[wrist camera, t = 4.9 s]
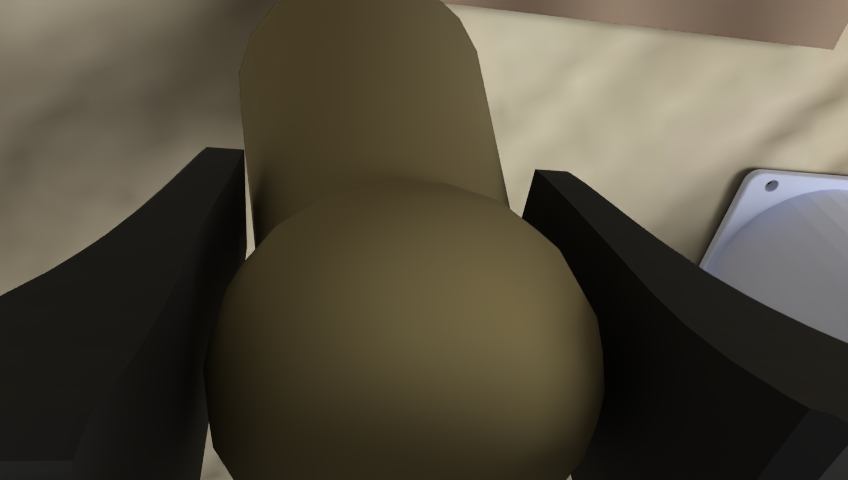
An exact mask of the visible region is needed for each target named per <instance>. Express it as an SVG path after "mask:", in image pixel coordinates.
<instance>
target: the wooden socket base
mask: <svg viewBox="0 0 848 480" xmlns="http://www.w3.org/2000/svg"><path fill="white" fill-rule="evenodd" d="M440 1H441V2H443V3H451V4H460V5H468V6H476V7H484V8H493V9H501V10H509V11H518V12H526V13H534V14H542V15H551V16H559V17H567V18H575V19H584V20H592V21H600V22H608V23H617V24H625V25H633V26H641V27H650V28H658V29H666V30H675V31H683V32H691V33H699V34H708V35H716V36H724V37H732V38H741V39H749V40H757V41H765V42H774V43H782V44H790V45H799V46H807V47H815V48H823V49H832V50H833V49H834V48H835V46H836V44H837V42H838V40H839V38H840V36H841V35H842V33H843V31H844V29H845V27H846V25H847V23H848V0H440Z"/></svg>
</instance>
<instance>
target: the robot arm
mask: <svg viewBox="0 0 848 480" xmlns="http://www.w3.org/2000/svg"><path fill="white" fill-rule="evenodd" d="M770 181H772V182H771V183H770V184H769V185H767V186H766V184H767V183H768V182H770ZM522 219H523V220H525V221H526V222H527V223H529V224H530V225H531V226H533V227H534V228H535V229H536V230H538V231H539V232H540V233H541V234H542V235H543V236H544V237H546V238H547V239H548V240H549V241H550V242H551V243H553V244H554V245H555V246H556V247H557V248H558V249H559V250H560V252H561V254H562V255H563V257H564V259H565V261H566V263H567V264H568V266H569V268H570V270H571V271H572V273H573V275H574V277H575V279H576V280H577V282H578V284H579V286H580V288H581V289H582V291H583V293H584V295H585V297H586V298H587V300H588V302H589V304H590V306H591V307H592V309H593V311H594V313H595V315H596V317H597V319H598V326H599V332H600V338H601V344H602V350H603V367H604V387H605V394H604V398H603V402H602V406H601V410H600V414H599V418H598V422H597V426H596V428H595V431H594V433H593V436H592V438H591V441H590V443H589V446H588V448H587V451H586V453H585V456H584V458H583V461H582V462H581V463H580V464H579V465H578V466H577V467H576V469H575V470H574V471H573V472H572V473H571V477H572V480H848V176H839V175H826V174H814V173H802V172H790V171H777V170H765V169H758V170H754V171H752V172H750V173H749V174H748V175H747V176H746V177H745V178H744V180H743V182H742V184H741V186H740V188H739V190H738V191H737V193H736V195H735V197H734V199H733V201H732V203H731V205H730V207H729V209H728V211H727V213H726V215H725V217H724V219H723V221H722V222H721V224H720V226H719V228H718V230H717V232H716V234H715V236H714V238H713V240H712V242H711V244H710V246H709V248H708V250H707V252H706V254H705V255H704V257H703V259H702V261H701V263H700V265H699V267H698V266H697V265H695V264H694V263H692V262H691V261H689V260H688V259H686V258H685V257H684V256H682V255H681V254H679V253H678V252H676V251H675V250H673V249H672V248H670V247H669V246H667V245H666V244H665V243H663V242H662V241H660V240H659V239H658V238H656V237H655V236H653V235H652V234H651V233H649V232H648V231H647V230H645V229H644V228H643V227H641V226H640V225H639V224H637V223H636V222H635V221H633V220H632V219H631V218H630V217H628V216H627V215H626V214H624V213H623V212H622V211H621V210H619V209H618V208H617V207H615V206H614V205H613V204H612V203H610V202H609V201H608V200H606V199H605V198H604V197H603V196H601V195H600V194H599V193H597V192H596V191H595V190H593V189H592V188H591V187H589V186H588V185H587V184H585V183H584V182H583V181H581V180H580V179H578V178H577V177H575V176H574V175H572V174H571V173H569V172H566V171H551V170H536V169H535V172H534V176H533V180H532V183H531V187H530V190H529V194H528V198H527V201H526V205H525V208H524V212H523V216H522ZM246 250H247V234H246V198H245V162H244V150H241V149H226V148H211V147H206V148H205V149H204V150H203V151H201V152H200V153H199V154H198V155H197V156H196V157H195V158H194V159H193V160H192V161H191V162H190V163H189V164H188V165H186V166H185V167H184V168H183V169H182V170H181V171H180V172H179V173H178V174H177V175H176V176H175V177H174V178H173V179H172V180H171V181H170V182H169V183H168V184H166V185H165V186H164V187H163V188H162V189H161V190H160V191H159V192H157V193H156V194H155V195H154V196H153V197H152V198H151V199H150V200H148V201H147V202H146V203H145V204H144V205H143V206H142V207H140V208H139V209H138V210H137V211H136V212H134V213H133V214H132V215H131V216H129V217H128V218H127V219H125V220H124V221H123V222H122V223H120V224H119V225H118V226H116V227H115V228H114V229H112V230H111V231H110V232H109V233H107V234H106V235H105V236H103V237H102V238H100V239H99V240H97V241H96V242H94V243H93V244H91V245H90V246H88V247H87V248H85V249H84V250H82V251H81V252H79V253H77V254H76V255H74V256H73V257H71V258H69V259H68V260H66V261H64V262H63V263H61V264H60V265H58V266H56V267H55V268H53V269H51V270H49V271H48V272H46V273H44V274H42V275H40V276H38V277H36V278H34V279H32V280H30V281H28V282H26V283H24V284H23V285H21V286H19V287H17V288H15V289H13V290H11V291H9V292H7V293H5V294H3V295H1V296H0V480H200V476H201V470H202V463H203V456H204V449H205V443H206V436H207V429H208V424H209V417H208V410H207V401H206V392H205V383H204V374H203V366H204V361H205V357H206V352H207V347H208V342H209V337H210V334H211V331H212V328H213V325H214V323H215V320H216V317H217V314H218V311H219V309H220V306H221V303H222V300H223V298H224V295H225V292H226V289H227V287H228V286H229V284H230V283H231V281H232V279H233V278H234V276H235V275H236V273H237V272H238V270H239V268H240V267H241V265H242V264H243V262H244V261H245V258H246Z"/></svg>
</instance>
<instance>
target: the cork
mask: <svg viewBox="0 0 848 480" xmlns="http://www.w3.org/2000/svg"><path fill="white" fill-rule="evenodd" d="M239 78H240V98H241V114H242V124H243V134H244V143H245V153H246V163H247V172H248V182H249V192H250V202H251V211H252V221H253V231H254V241H255V250H254V251H253V252H252V254H251V255H250V256H249V257H248V258H247V259H246V260H245V261H244V262H243V264H242V265H241V267H240V268H239V270H238V272H237V273H236V275H235V276H234V278H233V279H232V281H231V283H230V284H229V286H228V287H227V289H226V292H225V295H224V298H223V300H222V303H221V306H220V309H219V311H218V314H217V317H216V320H215V323H214V325H213V328H212V331H211V334H210V337H209V342H208V347H207V352H206V357H205V361H204V366H203V374H204V383H205V392H206V401H207V410H208V417H209V424H210V431H211V437H212V444H213V448H214V450H215V451H216V453H217V454H218V456H219V458H220V459H221V461H222V462H223V464H224V465H225V467H226V468H227V470H228V472H229V473H230V475H231V476H232V478H233V479H234V480H566V479H567V478H568V477H569V476H570V474H571V473H572V472H573V471H574V470H575V469H576V467H577V466H578V465H579V464H580V463H581V462H582V461H583V458H584V456H585V453H586V451H587V448H588V446H589V443H590V441H591V438H592V436H593V433H594V431H595V428H596V426H597V422H598V418H599V414H600V410H601V406H602V402H603V398H604V394H605V387H604V367H603V350H602V344H601V338H600V332H599V326H598V319H597V317H596V315H595V313H594V311H593V309H592V307H591V306H590V304H589V302H588V300H587V298H586V297H585V295H584V293H583V291H582V289H581V288H580V286H579V284H578V282H577V280H576V279H575V277H574V275H573V273H572V271H571V270H570V268H569V266H568V264H567V263H566V261H565V259H564V257H563V255H562V254H561V252H560V250H559V249H558V248H557V247H556V246H555V245H554V244H553V243H551V242H550V241H549V240H548V239H547V238H546V237H544V236H543V235H542V234H541V233H540V232H539V231H538V230H536V229H535V228H534V227H533V226H531V225H530V224H529V223H527V222H526V221H525V220H523V219H522V218H521V217H520V216H518V215H517V214H516V213H514V212H513V211H512V210H510V206H509V201H508V197H507V192H506V187H505V183H504V178H503V173H502V168H501V164H500V159H499V154H498V149H497V145H496V140H495V135H494V130H493V126H492V121H491V116H490V111H489V107H488V102H487V97H486V92H485V88H484V83H483V78H482V73H481V69H480V64H479V59H478V55H477V51H476V49H475V47H474V45H473V43H472V41H471V39H470V38H469V36H468V34H467V32H466V30H465V28H464V26H463V24H462V22H461V21H460V19H459V18H458V17H457V16H456V15H455V14H454V13H453V12H452V11H451V10H450V9H449V8H448V7H447V6H445V5H444V4H443V3H442V2H441V1H440V0H280V1H279V2H277V3H276V4H274V6H273V7H272V8H271V10H270V11H269V12H268V14H267V15H266V16H265V18H264V19H263V20H262V22H261V23H260V24H259V26H258V27H257V28H256V30H255V31H254V32H253V34H252V35H251V36H250V40H249V43H248V46H247V49H246V53H245V56H244V59H243V62H242V66H241V69H240V72H239Z"/></svg>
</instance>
